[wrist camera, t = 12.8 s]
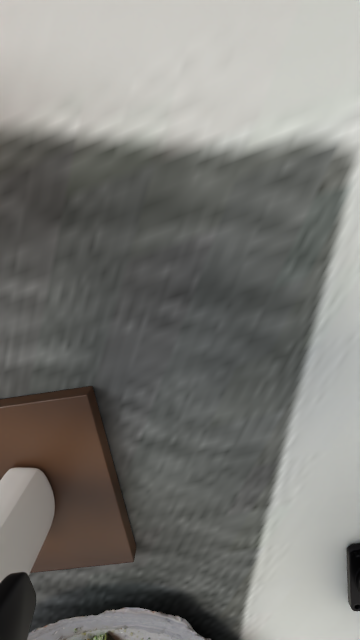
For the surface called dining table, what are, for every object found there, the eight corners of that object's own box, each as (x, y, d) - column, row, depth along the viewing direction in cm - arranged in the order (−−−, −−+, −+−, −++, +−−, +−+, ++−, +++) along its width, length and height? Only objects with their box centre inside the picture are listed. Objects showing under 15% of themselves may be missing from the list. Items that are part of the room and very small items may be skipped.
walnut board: (136, 546, 25) (134, 562, 24) (-10, 562, 26) (-20, 578, 24) (92, 385, 21) (87, 394, 20) (-78, 410, 22) (-93, 420, 21)
